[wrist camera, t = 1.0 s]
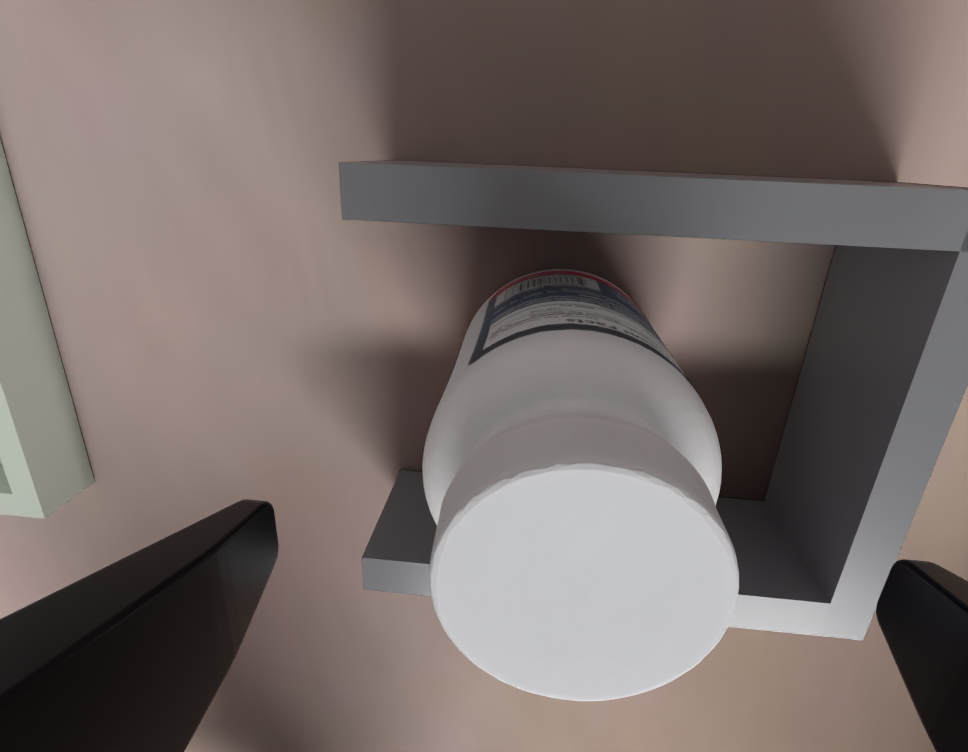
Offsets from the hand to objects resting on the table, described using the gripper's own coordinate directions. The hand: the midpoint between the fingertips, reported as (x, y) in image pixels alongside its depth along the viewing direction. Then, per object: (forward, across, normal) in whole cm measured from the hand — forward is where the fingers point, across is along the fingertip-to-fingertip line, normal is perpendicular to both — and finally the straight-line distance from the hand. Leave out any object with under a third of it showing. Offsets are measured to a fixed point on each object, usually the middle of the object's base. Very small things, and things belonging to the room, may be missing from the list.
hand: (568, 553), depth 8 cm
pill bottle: (+8, 0, 0) cm, 8 cm away
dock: (+8, -1, 0) cm, 8 cm away
